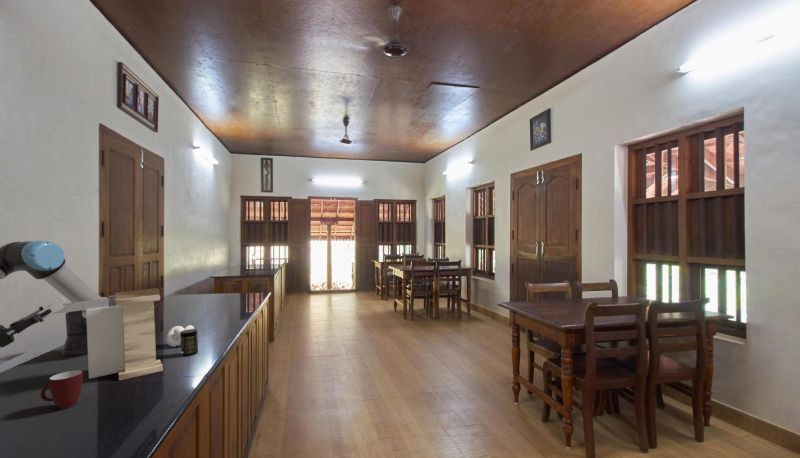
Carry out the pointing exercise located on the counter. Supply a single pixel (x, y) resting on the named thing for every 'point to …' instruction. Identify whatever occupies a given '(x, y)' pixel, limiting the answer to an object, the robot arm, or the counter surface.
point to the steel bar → (87, 305)
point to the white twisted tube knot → (176, 335)
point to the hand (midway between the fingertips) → (63, 301)
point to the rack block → (104, 340)
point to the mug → (64, 388)
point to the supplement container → (189, 342)
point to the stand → (138, 332)
